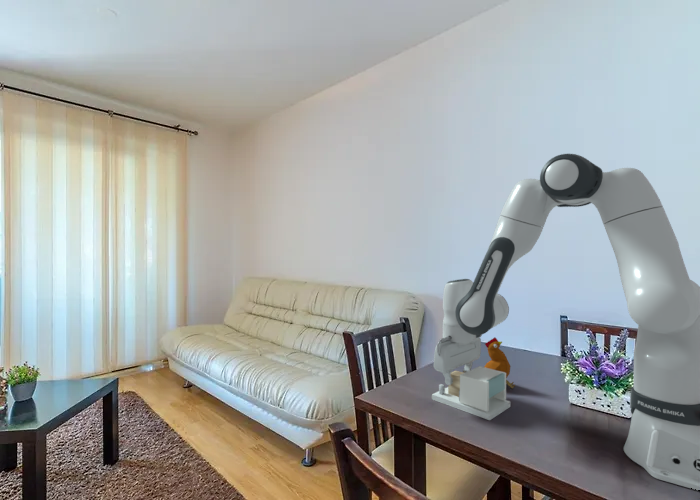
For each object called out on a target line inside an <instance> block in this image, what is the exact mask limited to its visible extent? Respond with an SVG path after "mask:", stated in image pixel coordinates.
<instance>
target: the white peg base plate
mask: <svg viewBox="0 0 700 500" xmlns="http://www.w3.org/2000/svg"><path fill="white" fill-rule="evenodd" d="M445 385H446V384H442V383H440V384H438V391H436V392H434V393H432V394H431V400H433V401H435V402H438V403H441V404H443V405H447V406H448V407H451V408H454V409H458V410H460V411H463V412H466V413H467V414H471V415H474V416H476V417H479V418H483V419H485V420H488V421H491V420H492V419H494V418H495V417H497V416H499V415H500V414H501V413H503V412H505V411H506V410H508V409H509V408H511V401H510V400H507V399H506V400H505V401H503V400H500V399H497V398H494V397H491V398H489V411H487V412H486V411H484V410H481V409H478V408H475V407H472V406H469V405H466V404H463V403H460V391H459V397H457V396H454V395H451V394H448V386H447V387H446V386H445Z"/></svg>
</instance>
